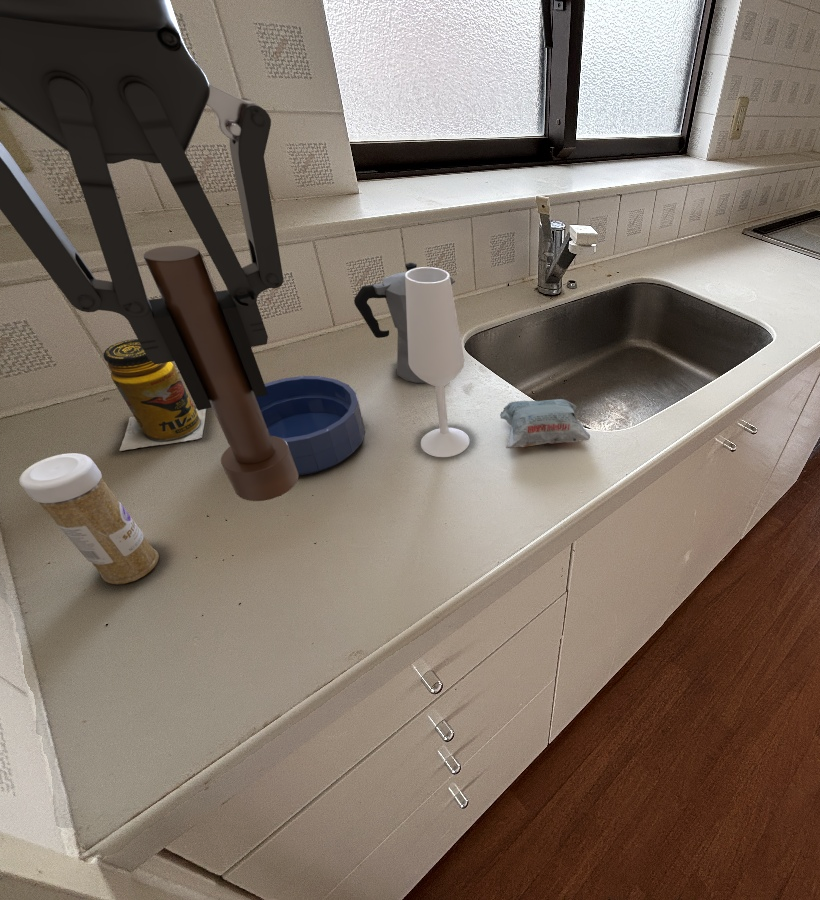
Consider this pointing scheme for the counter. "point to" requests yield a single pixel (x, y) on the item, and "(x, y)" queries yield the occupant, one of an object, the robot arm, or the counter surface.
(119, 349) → the condiment
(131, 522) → the sprinkles bottle
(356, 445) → the bowl
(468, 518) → the counter surface
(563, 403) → the packaged food
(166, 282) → the muddler
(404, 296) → the coffeepot
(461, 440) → the champagne flute
